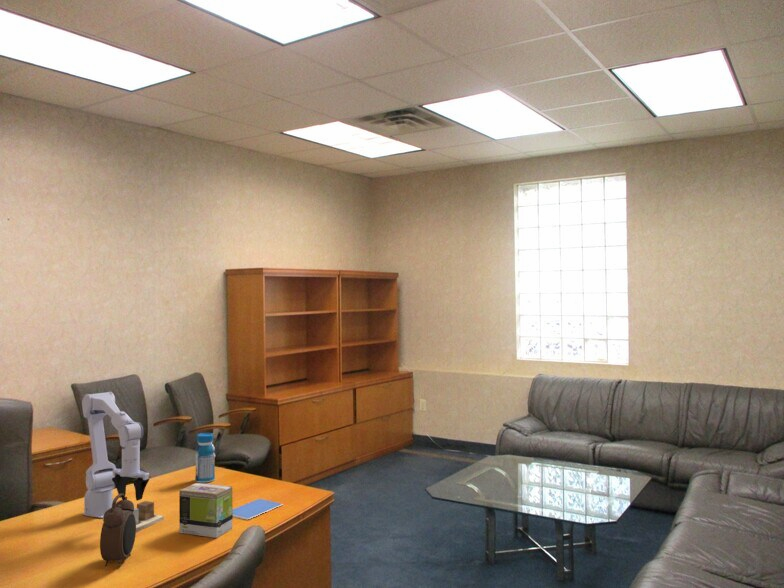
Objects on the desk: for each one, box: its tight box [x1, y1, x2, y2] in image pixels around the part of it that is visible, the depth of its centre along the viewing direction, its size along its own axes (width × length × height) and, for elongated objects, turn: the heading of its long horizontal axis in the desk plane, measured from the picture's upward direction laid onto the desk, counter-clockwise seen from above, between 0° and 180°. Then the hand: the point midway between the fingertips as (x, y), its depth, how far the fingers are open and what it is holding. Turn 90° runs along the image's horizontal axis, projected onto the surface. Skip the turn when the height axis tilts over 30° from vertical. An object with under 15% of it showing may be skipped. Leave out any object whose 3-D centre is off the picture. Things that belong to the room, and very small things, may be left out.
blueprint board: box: [136, 514, 165, 533], centre depth 218 cm, size 10×14×1 cm
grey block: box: [133, 507, 139, 524], centre depth 215 cm, size 4×4×5 cm
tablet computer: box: [233, 498, 284, 521], centre depth 234 cm, size 19×13×1 cm, turn 149°
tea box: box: [178, 482, 234, 539], centre depth 212 cm, size 15×10×15 cm, turn 71°
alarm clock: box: [99, 493, 137, 569], centre depth 188 cm, size 15×7×20 cm, turn 4°
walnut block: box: [136, 500, 155, 520], centre depth 222 cm, size 4×4×5 cm
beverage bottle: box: [194, 432, 216, 484], centre depth 270 cm, size 8×8×20 cm
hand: (130, 498), depth 215 cm, fingers open, 7 cm apart
